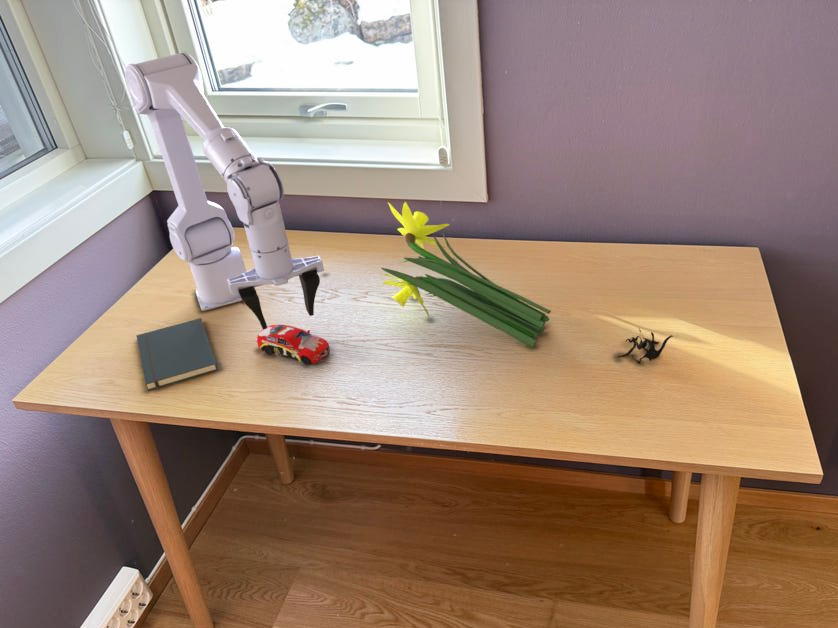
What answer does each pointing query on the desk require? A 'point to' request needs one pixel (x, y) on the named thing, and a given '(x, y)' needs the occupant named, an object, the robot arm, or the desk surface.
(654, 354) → the creature
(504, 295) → the daffodil flowers
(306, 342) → the race car
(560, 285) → the desk surface
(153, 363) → the notebook
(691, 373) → the desk surface
